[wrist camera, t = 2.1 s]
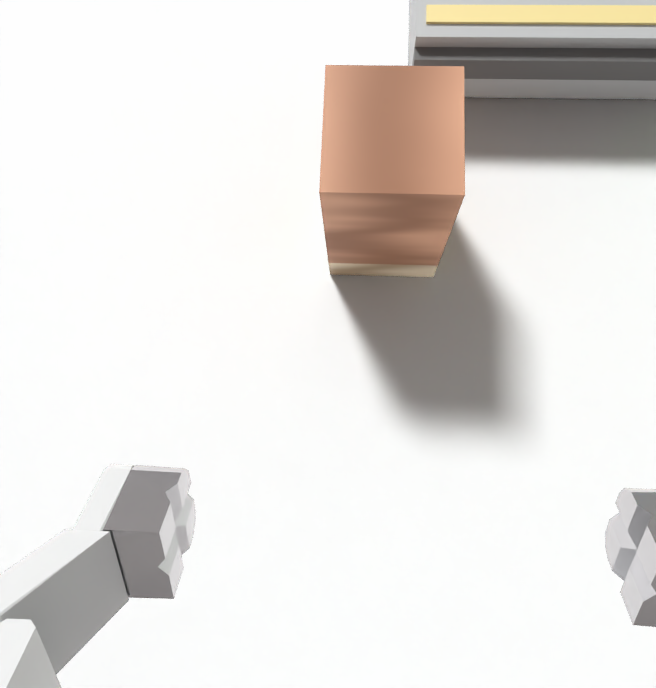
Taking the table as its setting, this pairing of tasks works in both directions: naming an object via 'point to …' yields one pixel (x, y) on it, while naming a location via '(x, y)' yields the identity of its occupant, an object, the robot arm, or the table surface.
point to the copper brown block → (391, 167)
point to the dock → (540, 46)
